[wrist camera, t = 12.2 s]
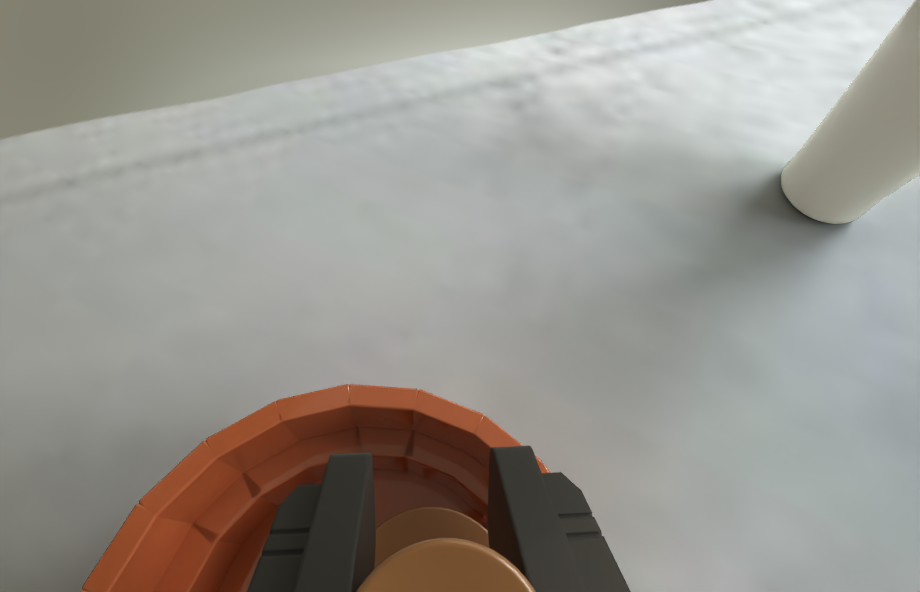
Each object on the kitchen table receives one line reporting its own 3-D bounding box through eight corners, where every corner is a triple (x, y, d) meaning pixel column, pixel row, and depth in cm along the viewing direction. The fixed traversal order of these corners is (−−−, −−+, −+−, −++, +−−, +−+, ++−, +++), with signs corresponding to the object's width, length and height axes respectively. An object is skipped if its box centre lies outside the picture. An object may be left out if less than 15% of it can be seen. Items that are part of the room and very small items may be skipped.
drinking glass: (874, 179, 34) (1168, -72, 20) (867, 254, 31) (1208, 16, 17) (773, 141, 35) (991, -121, 22) (756, 210, 32) (999, -47, 18)
